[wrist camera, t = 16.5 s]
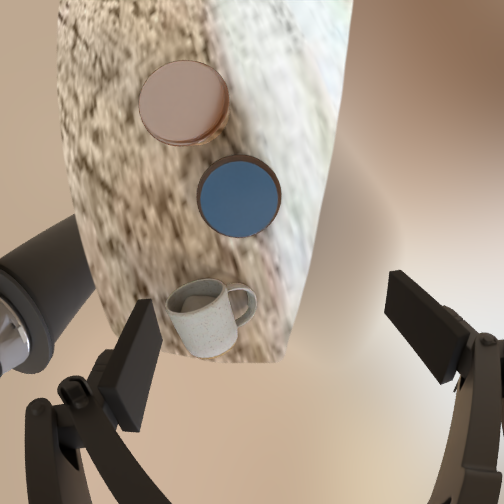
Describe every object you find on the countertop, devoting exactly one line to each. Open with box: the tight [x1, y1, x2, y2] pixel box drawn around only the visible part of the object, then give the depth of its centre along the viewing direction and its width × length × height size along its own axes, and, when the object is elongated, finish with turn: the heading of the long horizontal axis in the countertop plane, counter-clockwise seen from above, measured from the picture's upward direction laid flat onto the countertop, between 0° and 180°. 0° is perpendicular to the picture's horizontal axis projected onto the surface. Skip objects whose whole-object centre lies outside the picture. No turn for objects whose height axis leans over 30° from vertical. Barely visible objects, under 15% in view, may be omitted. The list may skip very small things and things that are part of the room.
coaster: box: [197, 155, 281, 238], centre depth 35 cm, size 10×10×1 cm
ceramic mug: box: [165, 279, 257, 359], centre depth 37 cm, size 11×8×8 cm
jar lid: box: [200, 160, 278, 237], centre depth 34 cm, size 9×9×2 cm
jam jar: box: [139, 60, 230, 146], centre depth 27 cm, size 8×8×10 cm
